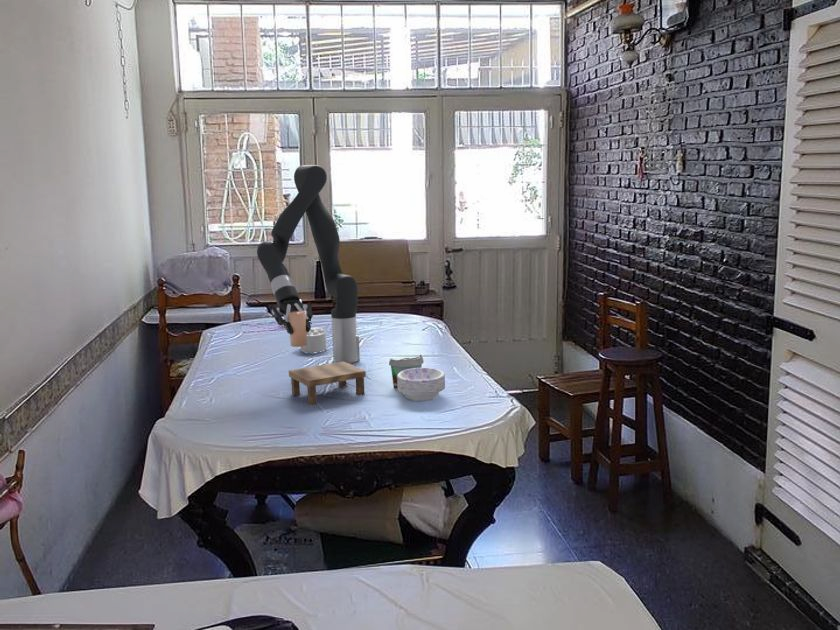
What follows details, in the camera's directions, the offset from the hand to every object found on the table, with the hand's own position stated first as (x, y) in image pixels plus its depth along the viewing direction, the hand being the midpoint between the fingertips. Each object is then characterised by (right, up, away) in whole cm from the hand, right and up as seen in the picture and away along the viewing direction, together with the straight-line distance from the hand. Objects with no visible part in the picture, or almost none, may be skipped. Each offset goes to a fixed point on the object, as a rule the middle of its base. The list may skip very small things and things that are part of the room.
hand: (300, 331), depth 267 cm
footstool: (+9, -20, -2) cm, 23 cm away
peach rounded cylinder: (-1, -4, +2) cm, 5 cm away
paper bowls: (+40, -21, -8) cm, 46 cm away
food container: (+36, -19, +4) cm, 41 cm away
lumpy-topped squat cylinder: (-4, -9, +62) cm, 63 cm away
